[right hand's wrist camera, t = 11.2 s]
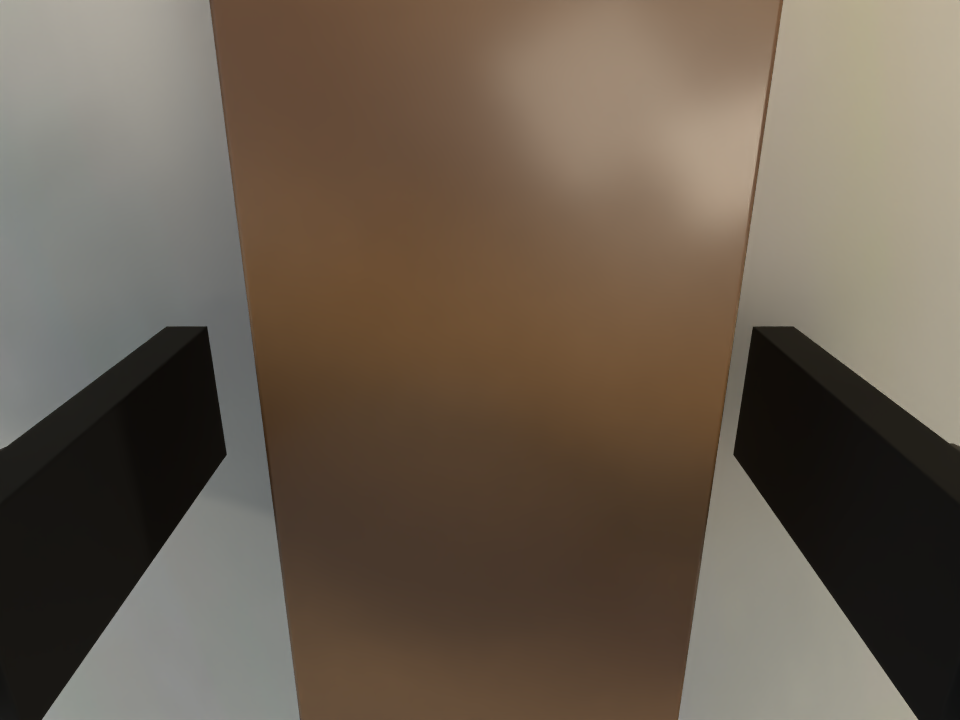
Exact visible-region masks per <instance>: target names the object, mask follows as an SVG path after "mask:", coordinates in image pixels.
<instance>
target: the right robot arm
mask: <svg viewBox="0 0 960 720" xmlns="http://www.w3.org/2000/svg"><path fill="white" fill-rule="evenodd" d="M226 455H227V454H226V447H225V441H224V434H223V428H222V421H221V414H220V408H219V401H218V395H217V388H216V382H215V375H214V369H213V362H212V356H211V349H210V343H209V336H208V330H207V327H165V328H164V329H163V330H161V331H160V332H159V333H157V334H156V335H155V336H153V337H152V338H151V339H149V340H148V341H147V342H145V343H144V344H143V345H141V346H140V347H139V348H137V349H136V350H135V351H133V352H132V353H131V354H129V355H128V356H127V357H125V358H124V359H123V360H121V361H120V362H119V363H117V364H116V365H115V366H113V367H112V368H111V369H109V370H108V371H107V372H105V373H104V374H103V375H101V376H100V377H99V378H97V379H96V380H95V381H93V382H92V383H91V384H89V385H88V386H87V387H85V388H84V389H83V390H81V391H80V392H79V393H77V394H76V395H75V396H73V397H72V398H71V399H69V400H68V401H67V402H65V403H64V404H63V405H61V406H60V407H59V408H57V409H56V410H55V411H53V412H52V413H51V414H49V415H48V416H47V417H45V418H44V419H43V420H42V421H40V422H39V423H38V424H36V425H35V426H34V427H32V428H31V429H30V430H28V431H27V432H26V433H24V434H23V435H22V436H20V437H19V438H18V439H16V440H15V441H14V442H12V443H11V444H10V445H8V446H7V447H4V448H2V449H0V720H42V719H43V717H44V716H45V714H46V713H47V711H48V710H49V708H50V707H51V706H52V704H53V703H54V701H55V700H56V698H57V697H58V696H59V694H60V693H61V691H62V690H63V688H64V687H65V686H66V684H67V683H68V681H69V680H70V678H71V677H72V675H73V674H74V673H75V671H76V670H77V668H78V667H79V665H80V664H81V663H82V661H83V660H84V658H85V657H86V655H87V654H88V653H89V651H90V650H91V648H92V647H93V645H94V644H95V643H96V641H97V640H98V638H99V637H100V635H101V634H102V632H103V631H104V630H105V628H106V627H107V625H108V624H109V622H110V621H111V620H112V618H113V617H114V615H115V614H116V612H117V611H118V610H119V608H120V607H121V605H122V604H123V602H124V601H125V600H126V598H127V597H128V595H129V594H130V592H131V591H132V589H133V588H134V587H135V585H136V584H137V582H138V581H139V579H140V578H141V577H142V575H143V574H144V572H145V571H146V569H147V568H148V567H149V565H150V564H151V562H152V561H153V559H154V558H155V556H156V555H157V554H158V552H159V551H160V549H161V548H162V546H163V545H164V544H165V542H166V541H167V539H168V538H169V536H170V535H171V534H172V532H173V531H174V529H175V528H176V526H177V525H178V524H179V522H180V521H181V519H182V518H183V516H184V515H185V513H186V512H187V511H188V509H189V508H190V506H191V505H192V503H193V502H194V501H195V499H196V498H197V496H198V495H199V493H200V492H201V491H202V489H203V488H204V486H205V485H206V483H207V482H208V480H209V479H210V478H211V476H212V475H213V473H214V472H215V470H216V469H217V468H218V466H219V465H220V463H221V462H222V460H223V459H224V458H225V456H226ZM733 455H734V456H735V458H736V459H737V460H738V462H739V463H740V465H741V466H742V468H743V469H744V470H745V472H746V473H747V475H748V476H749V478H750V479H751V480H752V482H753V483H754V485H755V486H756V488H757V489H758V491H759V492H760V493H761V495H762V496H763V498H764V499H765V501H766V502H767V503H768V505H769V506H770V508H771V509H772V511H773V512H774V513H775V515H776V516H777V518H778V519H779V521H780V522H781V523H782V525H783V526H784V528H785V529H786V531H787V532H788V534H789V535H790V536H791V538H792V539H793V541H794V542H795V544H796V545H797V546H798V548H799V549H800V551H801V552H802V554H803V555H804V556H805V558H806V559H807V561H808V562H809V564H810V565H811V567H812V568H813V569H814V571H815V572H816V574H817V575H818V577H819V578H820V579H821V581H822V582H823V584H824V585H825V587H826V588H827V589H828V591H829V592H830V594H831V595H832V597H833V598H834V599H835V601H836V602H837V604H838V605H839V607H840V608H841V610H842V611H843V612H844V614H845V615H846V617H847V618H848V620H849V621H850V622H851V624H852V625H853V627H854V628H855V630H856V631H857V632H858V634H859V635H860V637H861V638H862V640H863V641H864V642H865V644H866V645H867V647H868V648H869V650H870V651H871V653H872V654H873V655H874V657H875V658H876V660H877V661H878V663H879V664H880V665H881V667H882V668H883V670H884V671H885V673H886V674H887V675H888V677H889V678H890V680H891V681H892V683H893V684H894V686H895V687H896V688H897V690H898V691H899V693H900V694H901V696H902V697H903V698H904V700H905V701H906V703H907V704H908V706H909V707H910V708H911V710H912V711H913V713H914V714H915V716H916V717H917V718H918V720H960V446H957V445H955V444H949V443H948V442H946V441H945V440H944V439H942V438H941V437H940V436H938V435H937V434H936V433H934V432H933V431H932V430H930V429H929V428H928V427H927V426H925V425H924V424H923V423H921V422H920V421H919V420H917V419H916V418H915V417H913V416H912V415H911V414H909V413H908V412H907V411H905V410H904V409H903V408H901V407H900V406H899V405H897V404H896V403H895V402H893V401H892V400H891V399H889V398H888V397H887V396H885V395H884V394H883V393H881V392H880V391H879V390H877V389H876V388H875V387H873V386H872V385H871V384H869V383H868V382H867V381H865V380H864V379H863V378H861V377H860V376H859V375H857V374H856V373H855V372H853V371H852V370H851V369H849V368H848V367H847V366H845V365H844V364H843V363H841V362H840V361H839V360H837V359H836V358H835V357H833V356H832V355H831V354H829V353H828V352H827V351H825V350H824V349H823V348H821V347H820V346H819V345H817V344H816V343H815V342H813V341H812V340H811V339H809V338H808V337H807V336H805V335H804V334H803V333H801V332H800V331H799V330H797V329H796V328H795V327H753V330H752V336H751V343H750V349H749V356H748V362H747V369H746V375H745V382H744V388H743V395H742V402H741V408H740V415H739V421H738V428H737V434H736V441H735V447H734V454H733Z"/></svg>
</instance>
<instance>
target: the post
mask: <svg viewBox="0 0 960 720" xmlns="http://www.w3.org/2000/svg"><path fill="white" fill-rule="evenodd" d="M209 1H210V9H211V17H212V25H213V33H214V41H215V49H216V56H217V64H218V72H219V80H220V88H221V96H222V104H223V112H224V120H225V128H226V136H227V144H228V152H229V160H230V167H231V175H232V183H233V191H234V199H235V207H236V215H237V223H238V231H239V239H240V247H241V255H242V263H243V271H244V279H245V286H246V294H247V302H248V310H249V318H250V326H251V334H252V342H253V350H254V358H255V366H256V374H257V382H258V390H259V398H260V405H261V413H262V421H263V429H264V437H265V445H266V453H267V461H268V469H269V477H270V485H271V493H272V501H273V509H274V516H275V524H276V532H277V540H278V548H279V556H280V564H281V572H282V580H283V588H284V596H285V604H286V612H287V620H288V628H289V635H290V643H291V651H292V659H293V667H294V675H295V683H296V691H297V699H298V707H299V715H300V720H678V716H679V710H680V703H681V696H682V689H683V682H684V675H685V669H686V662H687V655H688V648H689V641H690V634H691V627H692V621H693V614H694V607H695V600H696V593H697V586H698V580H699V573H700V566H701V559H702V552H703V545H704V539H705V532H706V525H707V518H708V511H709V504H710V497H711V491H712V484H713V477H714V470H715V463H716V456H717V450H718V443H719V436H720V429H721V422H722V415H723V408H724V402H725V395H726V388H727V381H728V374H729V367H730V361H731V354H732V347H733V340H734V333H735V326H736V320H737V313H738V306H739V299H740V292H741V285H742V278H743V272H744V265H745V258H746V251H747V244H748V237H749V231H750V224H751V217H752V210H753V203H754V196H755V190H756V183H757V176H758V169H759V162H760V155H761V148H762V142H763V135H764V128H765V121H766V114H767V107H768V101H769V94H770V87H771V80H772V73H773V66H774V60H775V53H776V46H777V39H778V32H779V25H780V18H781V12H782V5H783V0H209Z"/></svg>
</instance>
